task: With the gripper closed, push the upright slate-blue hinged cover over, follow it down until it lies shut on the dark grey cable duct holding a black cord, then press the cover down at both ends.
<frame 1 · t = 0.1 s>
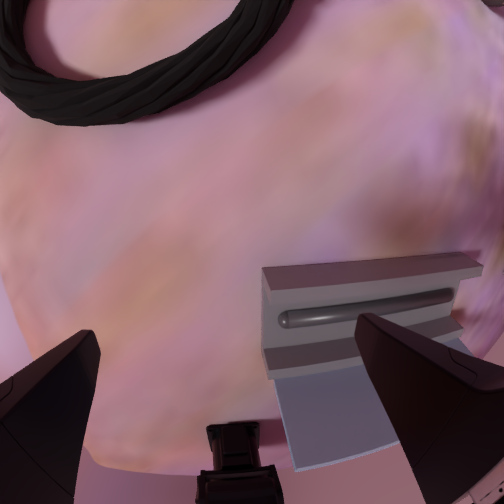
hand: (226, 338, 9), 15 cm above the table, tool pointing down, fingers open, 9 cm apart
duct: (375, 300, 27), on the table
cover: (401, 395, 22), point 8 cm above the table, hinge at 95.0°
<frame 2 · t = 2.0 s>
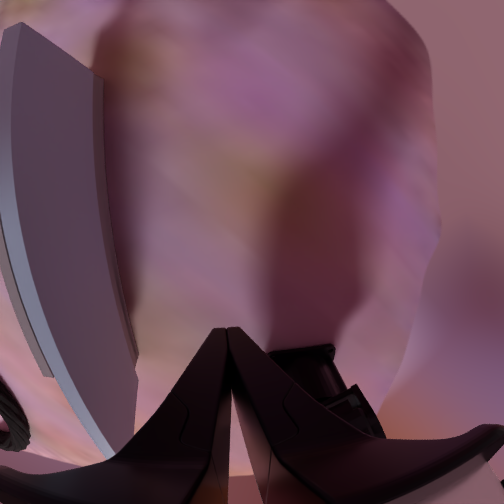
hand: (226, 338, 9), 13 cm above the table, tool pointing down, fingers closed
duct: (63, 236, 20), on the table
cover: (76, 282, 12), point 8 cm above the table, hinge at 95.0°
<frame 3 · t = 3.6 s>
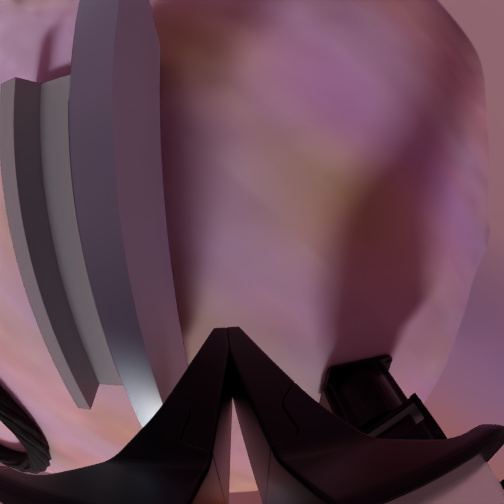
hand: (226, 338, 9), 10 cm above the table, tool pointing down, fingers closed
duct: (102, 248, 18), on the table
cover: (157, 316, 10), point 8 cm above the table, hinge at 95.0°, touching gripper
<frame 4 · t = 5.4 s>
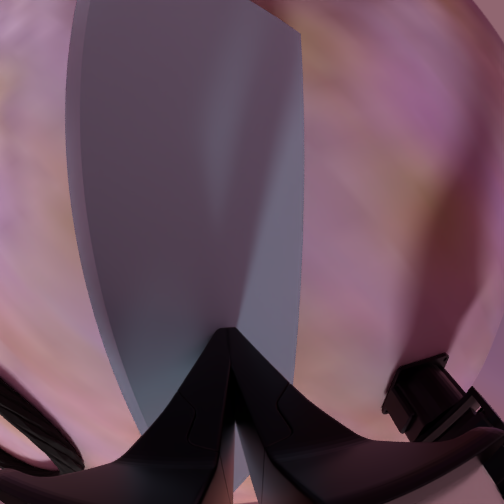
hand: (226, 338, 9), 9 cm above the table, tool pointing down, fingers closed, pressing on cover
cover: (233, 326, 10), point 8 cm above the table, hinge at 49.2°, touching gripper
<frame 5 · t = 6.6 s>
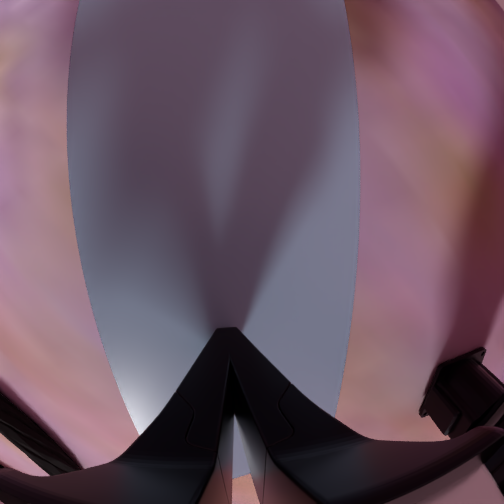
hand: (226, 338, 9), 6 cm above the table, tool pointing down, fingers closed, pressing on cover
cover: (237, 274, 9), point 6 cm above the table, hinge at 16.6°, touching gripper
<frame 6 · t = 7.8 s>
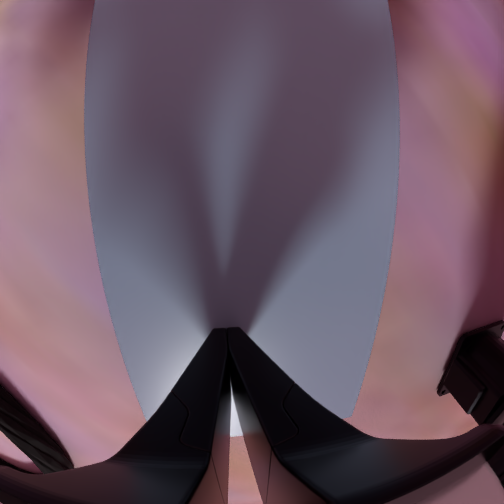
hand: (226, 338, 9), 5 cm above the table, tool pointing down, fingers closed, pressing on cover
cover: (250, 156, 8), point 5 cm above the table, hinge at 1.5°, touching duct, gripper
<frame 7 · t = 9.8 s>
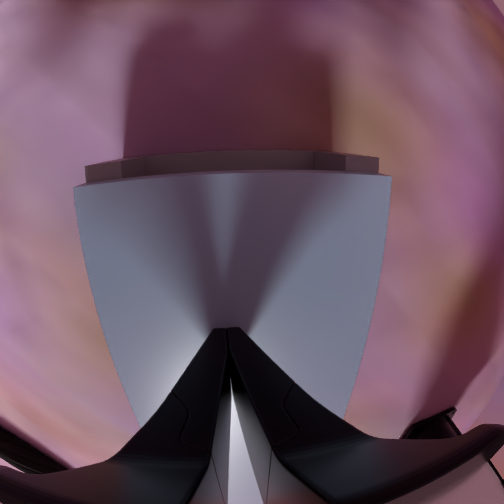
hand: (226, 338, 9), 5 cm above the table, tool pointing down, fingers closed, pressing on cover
duct: (236, 369, 16), on the table
cable lock: (16, 461, 20), on the table
cover: (245, 432, 12), point 4 cm above the table, hinge at 0.9°, touching gripper
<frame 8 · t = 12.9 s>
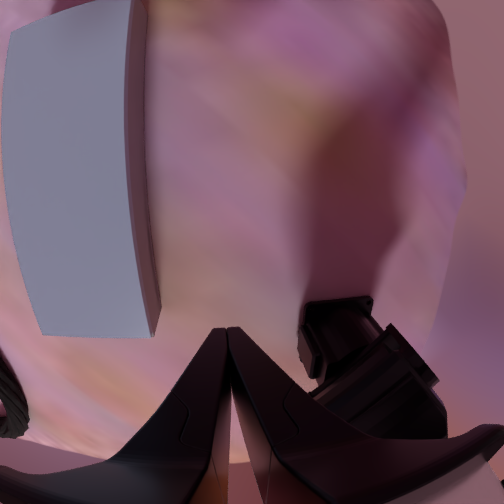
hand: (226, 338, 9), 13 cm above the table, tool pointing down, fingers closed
duct: (87, 168, 18), on the table
cover: (59, 175, 14), point 4 cm above the table, hinge at 0.6°, touching duct
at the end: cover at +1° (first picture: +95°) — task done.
